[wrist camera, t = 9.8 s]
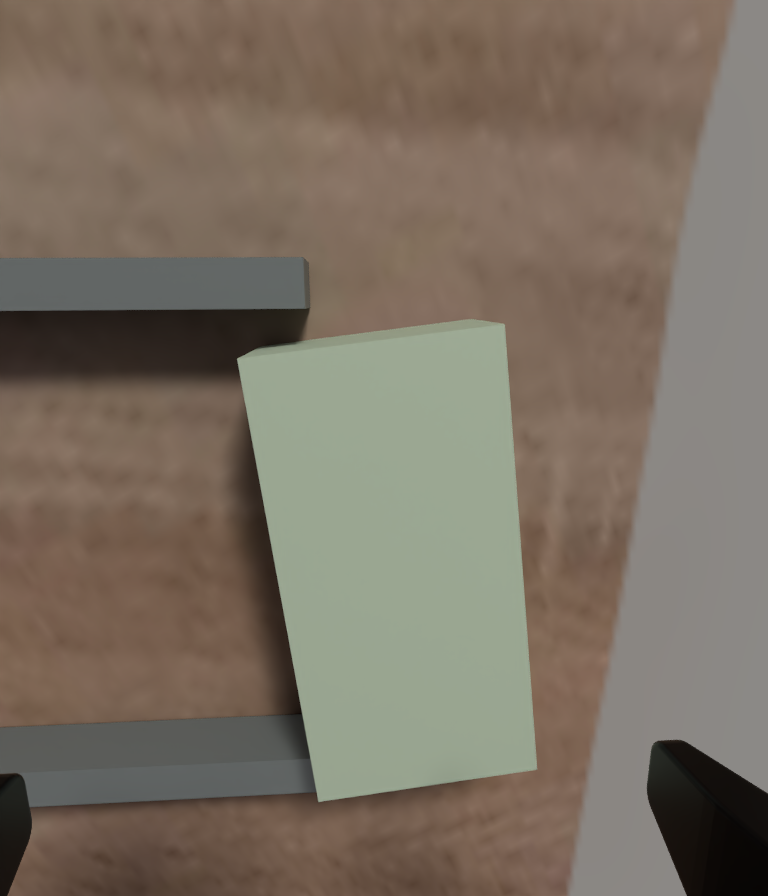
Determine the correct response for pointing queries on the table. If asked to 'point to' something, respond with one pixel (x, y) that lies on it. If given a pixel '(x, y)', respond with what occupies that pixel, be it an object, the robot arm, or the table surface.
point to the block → (397, 551)
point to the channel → (166, 741)
